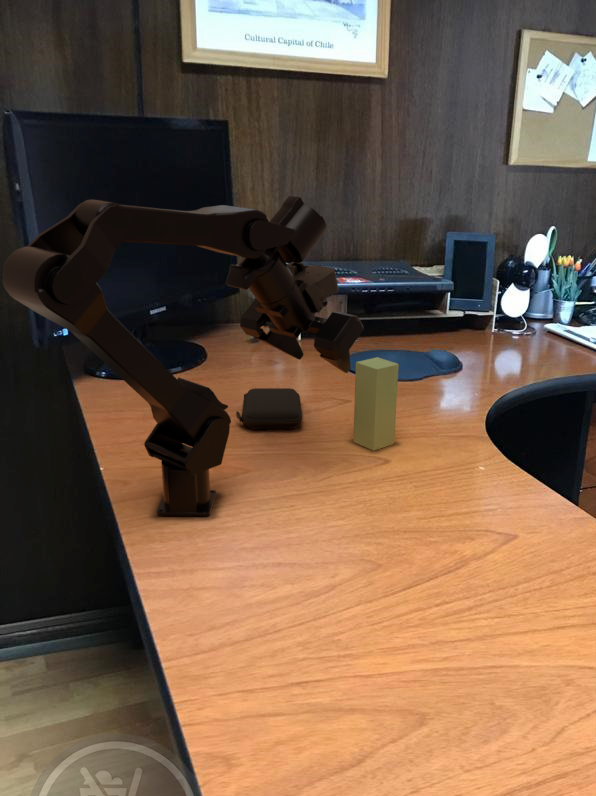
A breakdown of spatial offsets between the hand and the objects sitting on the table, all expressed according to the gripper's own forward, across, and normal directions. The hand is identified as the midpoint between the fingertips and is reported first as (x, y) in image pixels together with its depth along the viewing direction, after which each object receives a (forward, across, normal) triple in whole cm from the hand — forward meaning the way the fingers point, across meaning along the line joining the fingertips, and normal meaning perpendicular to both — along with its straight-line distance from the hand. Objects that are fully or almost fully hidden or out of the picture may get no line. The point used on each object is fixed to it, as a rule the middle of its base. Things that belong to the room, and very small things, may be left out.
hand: (324, 363), depth 112 cm
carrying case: (+14, +16, +5) cm, 22 cm away
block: (+15, -4, +2) cm, 16 cm away
